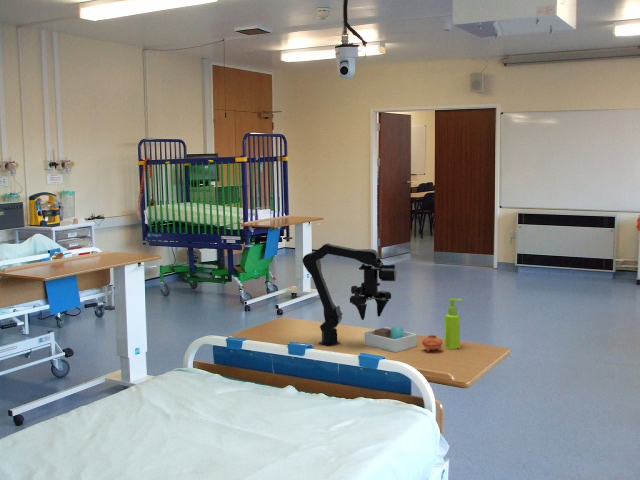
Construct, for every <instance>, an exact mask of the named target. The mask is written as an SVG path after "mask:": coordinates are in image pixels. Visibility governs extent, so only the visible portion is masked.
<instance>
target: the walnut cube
mask: <svg viewBox="0 0 640 480" xmlns="http://www.w3.org/2000/svg"><path fill="white" fill-rule="evenodd" d="M374 330H375V335H378V336H382V337H386V338H390V339H391V330H390V329H386V327H381V328H378V329H374Z"/></svg>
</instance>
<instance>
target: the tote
mask: <svg viewBox="0 0 640 480" xmlns="http://www.w3.org/2000/svg"><path fill="white" fill-rule="evenodd" d="M385 328H386V329H390V330H391V328H392V327H385ZM375 330H376V329H374V330H370V331H366V332H364V333H363V335H364V337H363V338H364V341H363V342H364V345H366V346H369V347H373V348H377V349H380V350H383V351H384V350H385V351H387V352H390V353H391V352H392V353H398V352H402V351H405V350H409V349H412V348H416V347H418V334H416V333H414V332H413V333H412V332H409V331H406V330H405V331H404V330H403V332H404V337H403V338H399V339H395V340H394V339H390V338H386V337H382V336H378V335H375Z"/></svg>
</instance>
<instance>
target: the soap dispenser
mask: <svg viewBox="0 0 640 480" xmlns="http://www.w3.org/2000/svg"><path fill="white" fill-rule="evenodd" d="M456 301H459V302H463V299H462V298H458V297H456V298H455V297H453V298H452V297H451V298H448V302H450V305H449V306H448V307H447V308H448V309H447V311H448V313H447V314H445V317H444V318H445V319H444V327H445V328H444V335H445V336H444V337H445V340H444V341H445V342H444V343H445V345H444V347H445V349H449V350H458V349H457V348H459V349H460V348H461V315H460V314H458V306H456Z"/></svg>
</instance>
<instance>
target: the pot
mask: <svg viewBox="0 0 640 480" xmlns="http://www.w3.org/2000/svg"><path fill="white" fill-rule="evenodd" d="M421 344H422V346H424V347H425V348H426V352H427V353H429V352H430V350H431V351H434V350H437V349H438V352H441V350H442V345H443V341H442V339H441V338H439V337H438V336H437V335H435V334H429V335H427V336H426V337H424V338H423V340H422V341H421Z"/></svg>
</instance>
